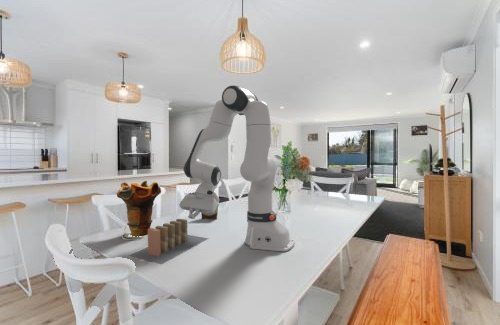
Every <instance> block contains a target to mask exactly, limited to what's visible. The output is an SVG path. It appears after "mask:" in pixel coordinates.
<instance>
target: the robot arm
mask: <svg viewBox="0 0 500 325" xmlns="http://www.w3.org/2000/svg"><path fill="white" fill-rule="evenodd" d="M268 106H269V105H268V104H267V103H266V102H264V101H261V100H259V98H258V97H257V96H256V95H255V93H253V92H250V91H249V90H248V89H246V88H244V87H240V86H238V85H229V86H227V87H226V88H225V89H224V90H223V92H222V94H221V99H219V100H217V101H216V102H215V103H214V106H213V108H212V112H211V115H210V117H209V122H208V123H207V126H206V127H205V128H203V129H201V130H200V131H199V133H198V135H197V137H196V139H195V142H194V144H193V147H192V148H191V151H190V154H189V156H188V157H187V159H186V162H184V166H183V172H184V174H185V176H186V177H187V178H189V179H193V180H194V179H195V180H199V181H201V183H200V184H199V185H198V186H197V188H196V190H195V191H194V193H188V194H186V195H185V196H184V197H183V198H182V200H181V201H180V202H179V206H178V207H179V208H180V209H182V210H184V211H188V212H189V214H188V216H187V217H188V219H190V220H191V219H192V220H196V217H197V216H199V215H201V212H204V213H211V214H213V213H214V212H215V210H216V208H217V205H218V204H219V202H220V198H219V196H218V195H217V193H216V192H215V190H216V189H217V187H218V186H219V184H220V180H221V178H222V171H221V169H220V167H219V166H218V165H216V164H213V163H210V162H206V161H202V160H201V159H199V158H200V156H201V154H202V151H203V149H204V146H205V145H206V144H207V143H209V142H219V141H223V140H225V139H227V138H228V137H229V135H230V134H231V130H232V127H233V122H234V119H235V117H236V116H237V115H239V116H245V133H246V143H245V145H246V147H245V151H244V158H243V161H242V163H241V164H240V167H239V168H240V169H239V171H240V175H241V177H242V179H244V180H245V181H247V182H250V184H251V185H250V187H249V188H250V189H249V191H248V194H247V211H246V221H247V229H246V234H245V235H246V236H245V240H244V242H245V244H246V245H247V246H248V247H249V249H252V250H262V251H275V252H287V251H290V250H292V249H293V248H294V246H295V245H296V244H295V243H296V242H295V239H294V238H291V236H290V232H289V229H288V228H287V227H286V226H285V225H284V224H282V223H281V222H280V221H279V220H278V219H277V216H278V212H275V211H274V210H273V191H274V187H275V178H276V177H275V176H276V172H277V169H278V168H277V167H278V166H277V162H276V161H275V160H274V159H273V158H271V157H269V151H270V146H271V144H272V134H271V133H272V129H271V114H270V111H269V110H270V109H269V107H268ZM217 202H218V203H217Z"/></svg>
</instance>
